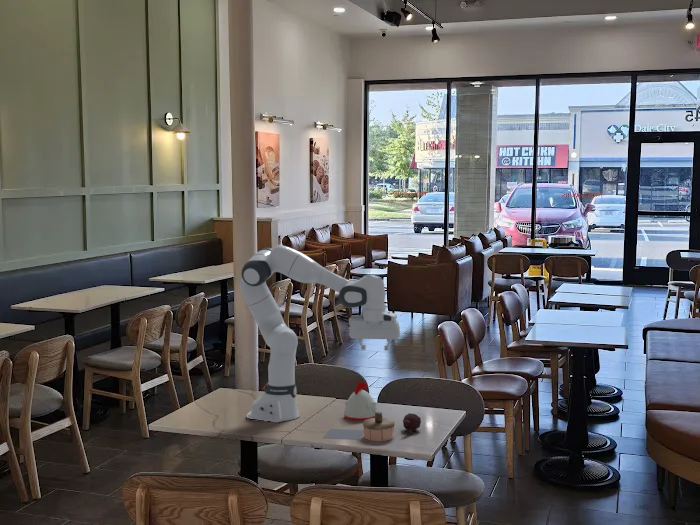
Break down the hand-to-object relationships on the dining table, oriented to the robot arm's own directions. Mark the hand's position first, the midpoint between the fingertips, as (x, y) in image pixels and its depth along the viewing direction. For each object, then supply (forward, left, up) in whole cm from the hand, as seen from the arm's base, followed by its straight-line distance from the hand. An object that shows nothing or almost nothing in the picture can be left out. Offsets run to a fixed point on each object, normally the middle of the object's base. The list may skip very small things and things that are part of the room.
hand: (374, 349), depth 318 cm
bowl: (+4, -15, -31) cm, 35 cm away
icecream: (+15, -3, -31) cm, 35 cm away
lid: (+4, -15, -26) cm, 30 cm away
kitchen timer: (-9, +12, -31) cm, 35 cm away
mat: (-10, -14, -31) cm, 36 cm away
